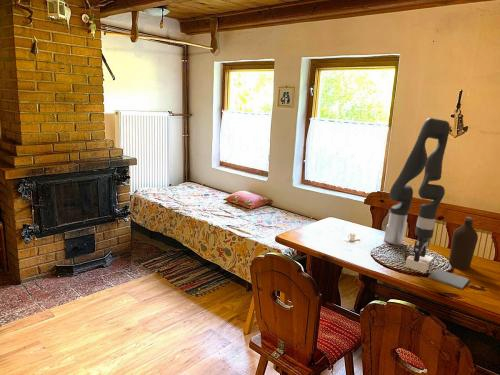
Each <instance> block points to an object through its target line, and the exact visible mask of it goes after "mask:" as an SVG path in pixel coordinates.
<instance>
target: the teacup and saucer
mask: <svg viewBox="0 0 500 375" xmlns="http://www.w3.org/2000/svg"><path fill="white" fill-rule="evenodd" d="M348 239H349V240H348ZM360 240H361V237H360V236H356V233H354V232H353V233H352V232H351V233H349V234H348V236H347V237H345V238H344V241H346V242H347V243H351V244H358V243H360Z"/></svg>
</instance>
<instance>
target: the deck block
mask: <svg viewBox="0 0 500 375" xmlns="http://www.w3.org/2000/svg"><path fill="white" fill-rule="evenodd" d="M405 261H406V263H405V266H406V267H409V268H412V269H416V270H418V271H422V272H424V273H425V272H426V271H427V270H429V266H430V264H429V261H426V260H423V259H420V258H419V262H416V261H414V255H409V256H407V257H406V260H405ZM405 266H404V267H405ZM406 267H405V268H406ZM409 268H408V269H409ZM412 269H411V270H412ZM418 271H417V272H418ZM427 272H428V271H427ZM427 272H426V273H427ZM424 273H423V274H424ZM426 273H425V274H426Z"/></svg>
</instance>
